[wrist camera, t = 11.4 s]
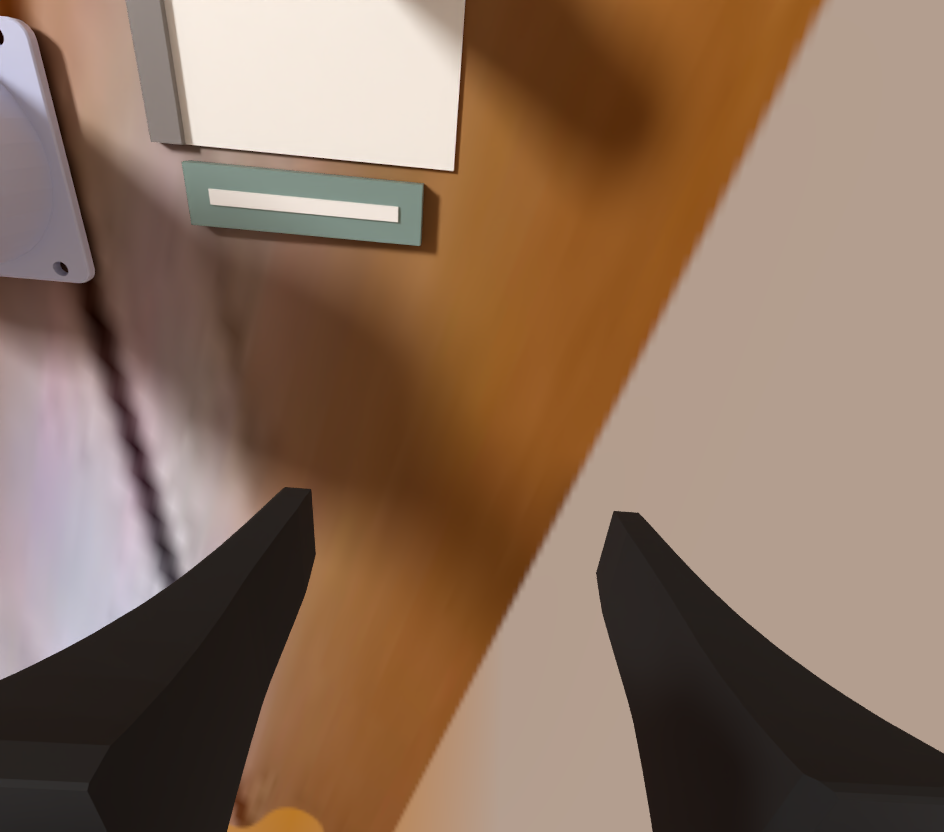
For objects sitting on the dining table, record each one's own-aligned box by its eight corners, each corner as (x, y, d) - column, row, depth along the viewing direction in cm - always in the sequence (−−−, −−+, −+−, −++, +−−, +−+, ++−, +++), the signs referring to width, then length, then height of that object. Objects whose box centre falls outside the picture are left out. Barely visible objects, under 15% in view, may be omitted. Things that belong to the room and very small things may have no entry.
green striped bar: (198, 221, 19) (190, 224, 19) (189, 160, 18) (180, 161, 18) (421, 242, 20) (419, 246, 19) (424, 183, 19) (422, 185, 18)
